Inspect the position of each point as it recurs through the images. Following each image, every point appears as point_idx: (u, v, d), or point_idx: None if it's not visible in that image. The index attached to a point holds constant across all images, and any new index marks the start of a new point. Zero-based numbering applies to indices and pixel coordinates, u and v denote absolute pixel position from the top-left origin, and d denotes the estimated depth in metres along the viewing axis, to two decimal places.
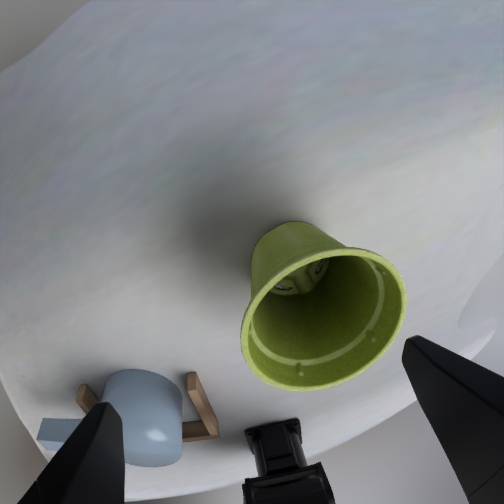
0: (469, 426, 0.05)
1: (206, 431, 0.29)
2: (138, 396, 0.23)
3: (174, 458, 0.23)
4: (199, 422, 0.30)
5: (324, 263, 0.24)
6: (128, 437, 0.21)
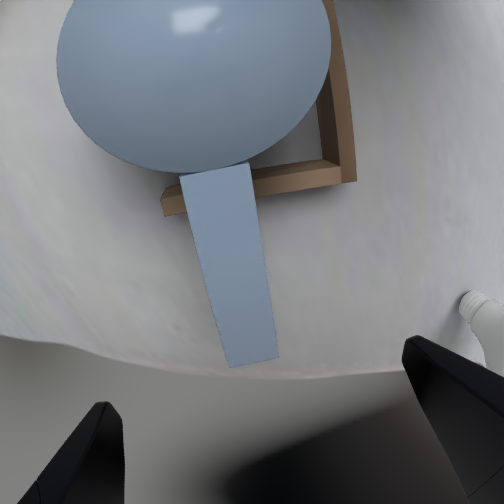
0: (469, 426, 0.05)
1: None
2: None
3: None
4: None
5: None
6: (118, 51, 0.07)
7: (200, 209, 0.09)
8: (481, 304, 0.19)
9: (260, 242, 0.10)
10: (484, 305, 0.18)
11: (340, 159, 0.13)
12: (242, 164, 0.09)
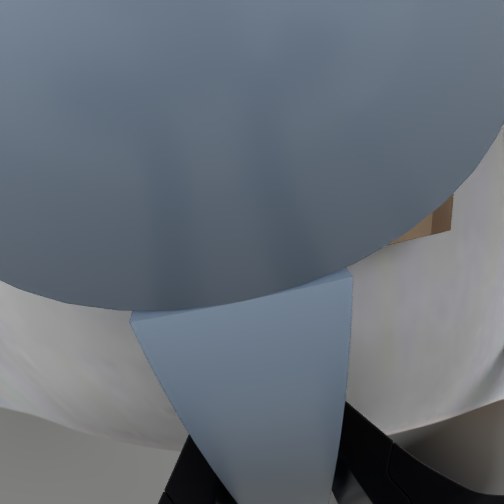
0: (343, 484, 0.05)
1: None
2: None
3: None
4: None
5: None
6: None
7: (203, 392, 0.03)
8: None
9: (339, 424, 0.04)
10: None
11: None
12: (331, 280, 0.03)
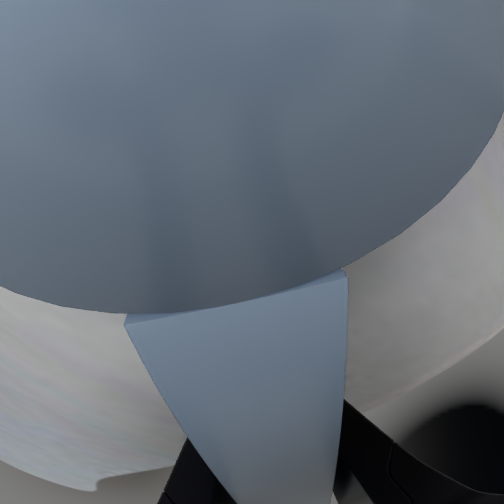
0: (343, 483, 0.05)
1: None
2: None
3: None
4: None
5: None
6: None
7: (199, 394, 0.03)
8: None
9: (338, 426, 0.04)
10: None
11: None
12: (326, 281, 0.03)
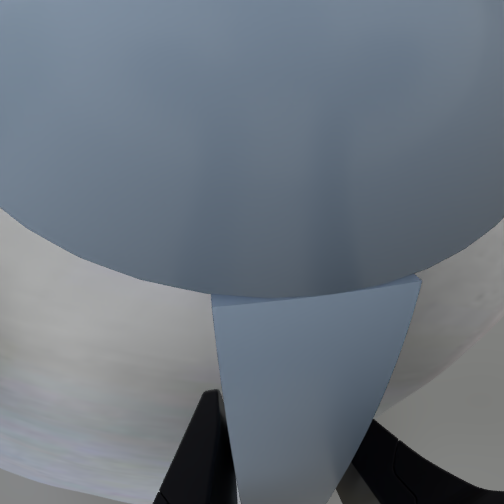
0: (348, 482, 0.05)
1: None
2: None
3: None
4: None
5: None
6: None
7: (261, 387, 0.03)
8: None
9: (367, 426, 0.04)
10: None
11: None
12: (405, 282, 0.03)
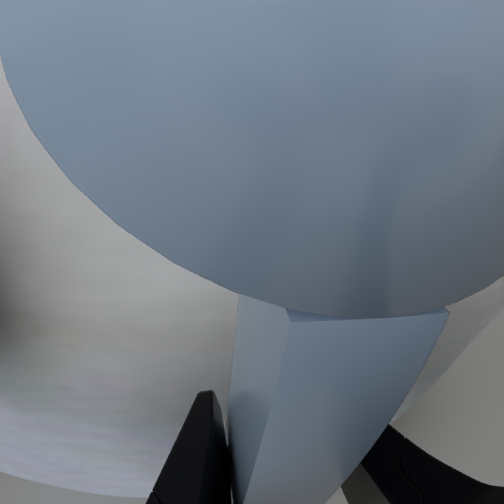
0: (354, 480, 0.05)
1: None
2: None
3: None
4: None
5: None
6: None
7: (307, 396, 0.03)
8: None
9: (377, 437, 0.04)
10: None
11: None
12: (437, 312, 0.03)
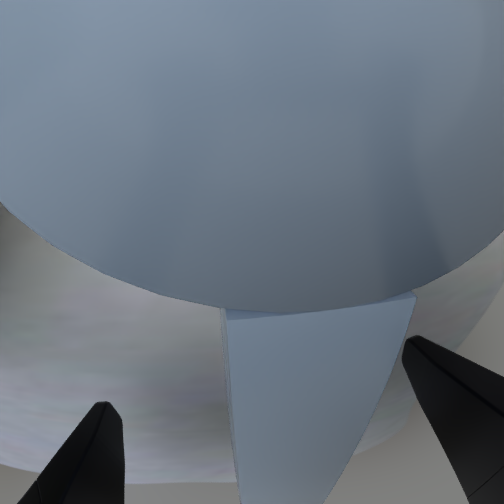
0: (469, 426, 0.05)
1: None
2: None
3: None
4: None
5: None
6: None
7: (268, 392, 0.03)
8: None
9: (363, 429, 0.04)
10: None
11: None
12: (401, 298, 0.03)
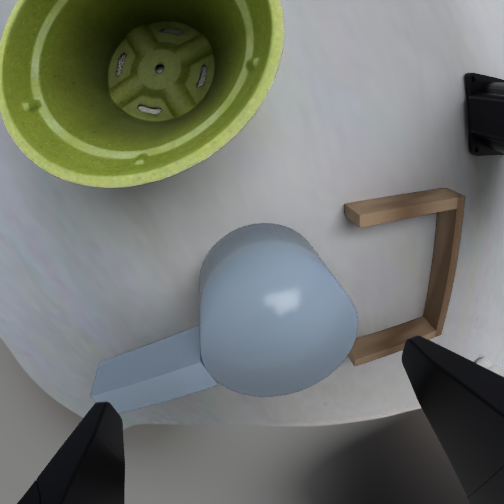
0: (469, 426, 0.05)
1: (451, 211, 0.19)
2: (271, 244, 0.16)
3: (341, 353, 0.16)
4: (439, 214, 0.20)
5: (168, 25, 0.13)
6: (269, 317, 0.14)
7: (185, 373, 0.15)
8: None
9: None
10: None
11: (437, 327, 0.23)
12: (216, 382, 0.15)
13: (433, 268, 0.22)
